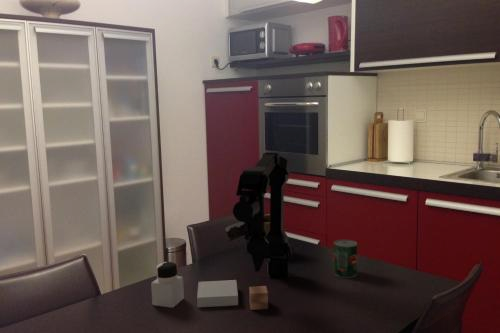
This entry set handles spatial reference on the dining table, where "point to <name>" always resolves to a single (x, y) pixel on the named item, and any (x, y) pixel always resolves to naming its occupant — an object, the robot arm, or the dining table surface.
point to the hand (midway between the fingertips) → (256, 265)
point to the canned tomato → (345, 258)
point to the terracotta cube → (258, 297)
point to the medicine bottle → (167, 286)
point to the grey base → (217, 293)
